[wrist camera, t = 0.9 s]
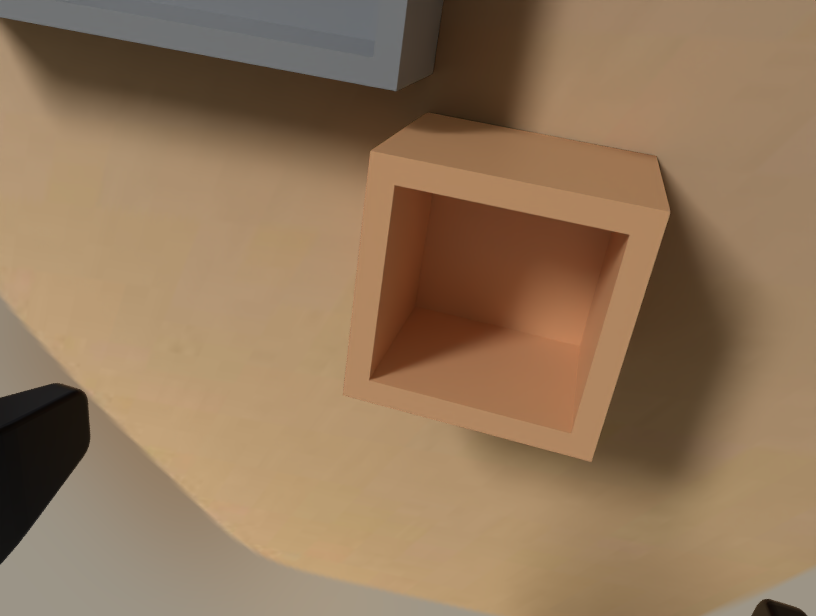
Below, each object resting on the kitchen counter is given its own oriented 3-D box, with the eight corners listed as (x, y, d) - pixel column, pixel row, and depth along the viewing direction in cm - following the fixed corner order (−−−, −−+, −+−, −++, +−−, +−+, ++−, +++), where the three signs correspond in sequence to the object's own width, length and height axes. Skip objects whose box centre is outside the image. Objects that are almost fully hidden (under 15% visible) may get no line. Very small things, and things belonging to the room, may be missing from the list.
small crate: (656, 155, 18) (670, 212, 13) (596, 359, 20) (591, 462, 16) (427, 112, 19) (369, 150, 14) (398, 311, 21) (343, 395, 17)
